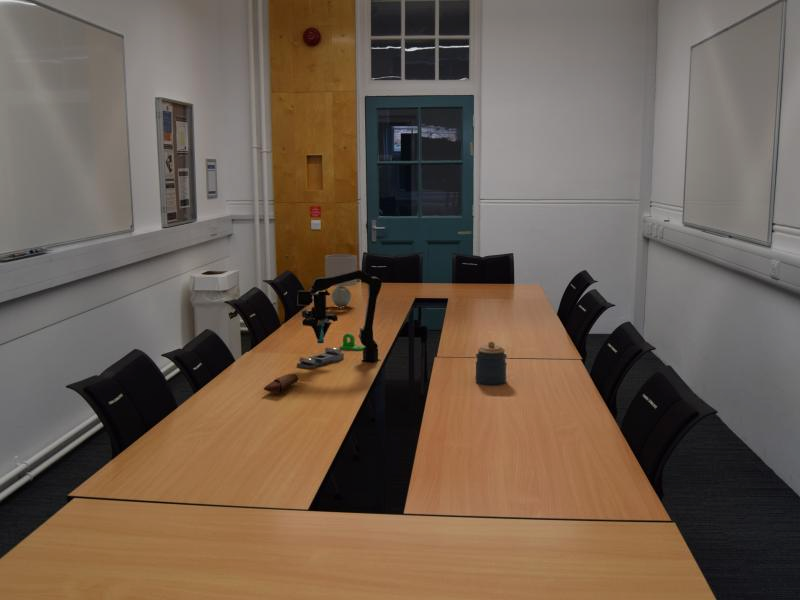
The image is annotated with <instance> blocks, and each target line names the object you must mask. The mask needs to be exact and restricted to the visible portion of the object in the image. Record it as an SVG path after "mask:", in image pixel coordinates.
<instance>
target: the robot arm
mask: <svg viewBox="0 0 800 600" xmlns="http://www.w3.org/2000/svg"><path fill="white" fill-rule="evenodd" d="M355 279H357V280H360V281H362V282H363V283H365V284H367V296H368V297H367V302H366V304H367V305H366V311H365V318H364V325H363V326H362V328H359V334H358V339H359V341H360V343H361V344H362V346H365V348H363V350H362V360H361V362H364V363H371V364H374V363H376V362H379V361H381V359H379V348H378V347H379V345H378V343H377V341H376V340H374V329H373V327H374V321H375V320H374V319H375V312H376V307H377V306H376V305H377V298H378V296H379V294H380V292H381V288H382V281H381V280H380V278H379V277H377V276H372V275H370V274H367V273H366V272H364V271H362V269H359V268H357V270H355V271H352V272H348V273H344V274H340V275H336V276H332V277H326V276H318V277H315V278H314V280H313V283H312V286H311V287H310V288H309V290H297V306H311V304H313V306H312V307H311V310H307V309H304V310H301V317H302V318H303V319H302V321H301V322H302V323H301V324H302V326H304V327H306V326H307V327H311V328H312V329H313V332H314V335H315V337H316V340H317V339H319V338H320V334H321V329H322V325H320V323H325V326H324V338H325V337H326V334H327V332H328V330H329V328H330V327H331V325H332V324H333V323H332V322H337V321H338V320H339V319H338V316H337V314H333V313H327V310H329V307H328V306H327V296H331V292H329V291H328V289H329V288H331V287H334V286H333V285H336V284H340V283H344V282H347V281H351V280H355ZM330 321H332V322H330Z"/></svg>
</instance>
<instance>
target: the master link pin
mask: <svg viewBox="0 0 800 600" xmlns="http://www.w3.org/2000/svg"><path fill="white" fill-rule="evenodd" d="M320 325H322V329H321V334H320V338H319V339H317V338H316V340H317V341H316V342H317V343H318V344H324V343H325V339H324V338H325V337H324V326H325V323H320Z"/></svg>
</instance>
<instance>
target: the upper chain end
mask: <svg viewBox="0 0 800 600" xmlns="http://www.w3.org/2000/svg"><path fill="white" fill-rule="evenodd" d="M344 355H345V354H344V352H342V350H341V349H339V348H335V347H329V346H327V347H325V349H324V352H321V353H319V354H316V355H312V356H309V357H307V358H309V359H315V360H316V362H321V363H322V362H326V361H329V360H333V363H336V362H338V361H342V360H344V359H345V358H344V357H345V356H344Z"/></svg>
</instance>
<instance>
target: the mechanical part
mask: <svg viewBox="0 0 800 600" xmlns="http://www.w3.org/2000/svg"><path fill="white" fill-rule="evenodd" d="M348 338H349V340H350V341H349V340H348ZM355 339H356V338H355V335H353V334H352V333H345V334H344V335H343V337H342V345H341V346H339V347H338V349H340V350H341V351H343V350H344V351H355V352H361V351H363V348H365V346H364V345H356V344H355V341H356V340H355Z"/></svg>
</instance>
